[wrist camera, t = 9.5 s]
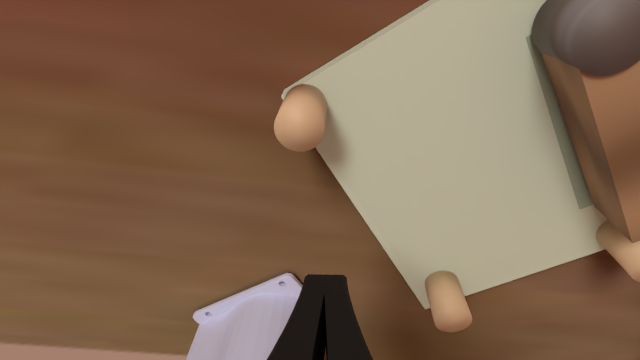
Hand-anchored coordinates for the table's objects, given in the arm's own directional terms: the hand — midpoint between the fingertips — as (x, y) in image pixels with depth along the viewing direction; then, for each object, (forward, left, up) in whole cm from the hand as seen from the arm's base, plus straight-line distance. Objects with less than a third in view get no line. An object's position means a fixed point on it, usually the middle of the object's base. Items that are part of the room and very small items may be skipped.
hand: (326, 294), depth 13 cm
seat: (+7, -4, -10) cm, 13 cm away
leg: (+13, -3, -8) cm, 15 cm away
